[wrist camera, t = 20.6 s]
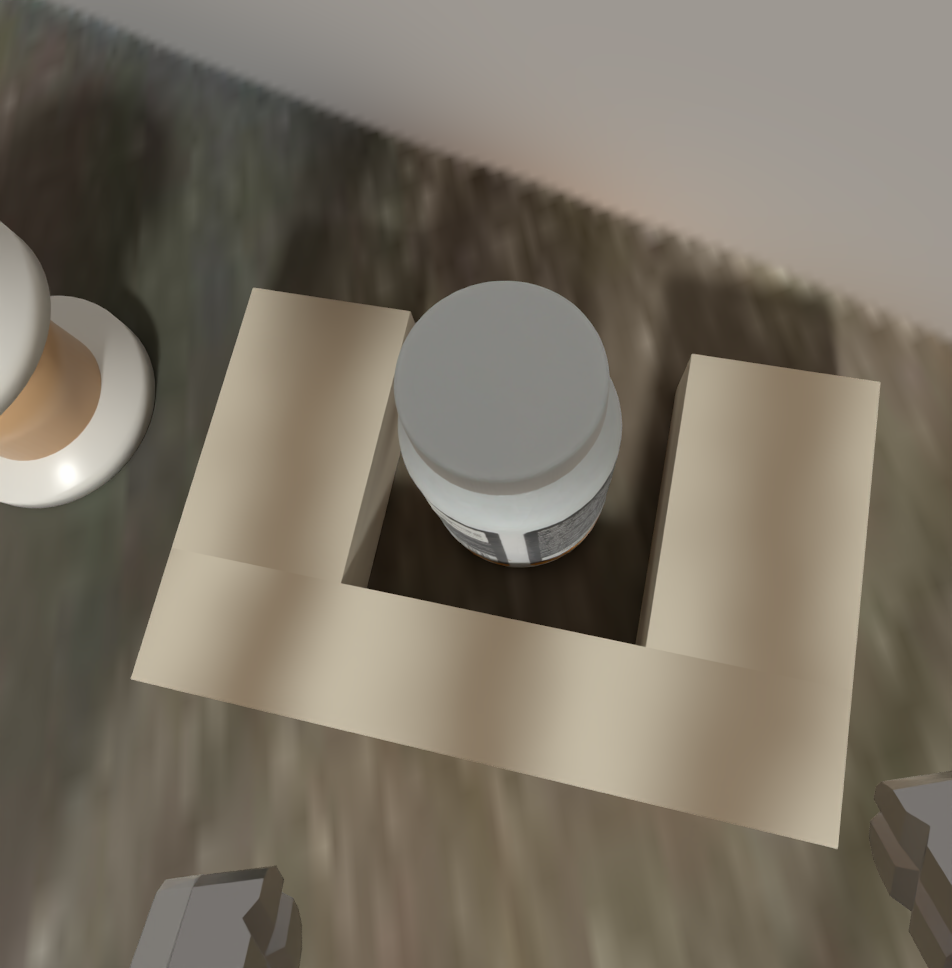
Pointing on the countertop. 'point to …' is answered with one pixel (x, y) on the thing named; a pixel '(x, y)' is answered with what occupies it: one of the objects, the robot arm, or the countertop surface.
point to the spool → (63, 387)
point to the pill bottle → (509, 420)
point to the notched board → (517, 644)
